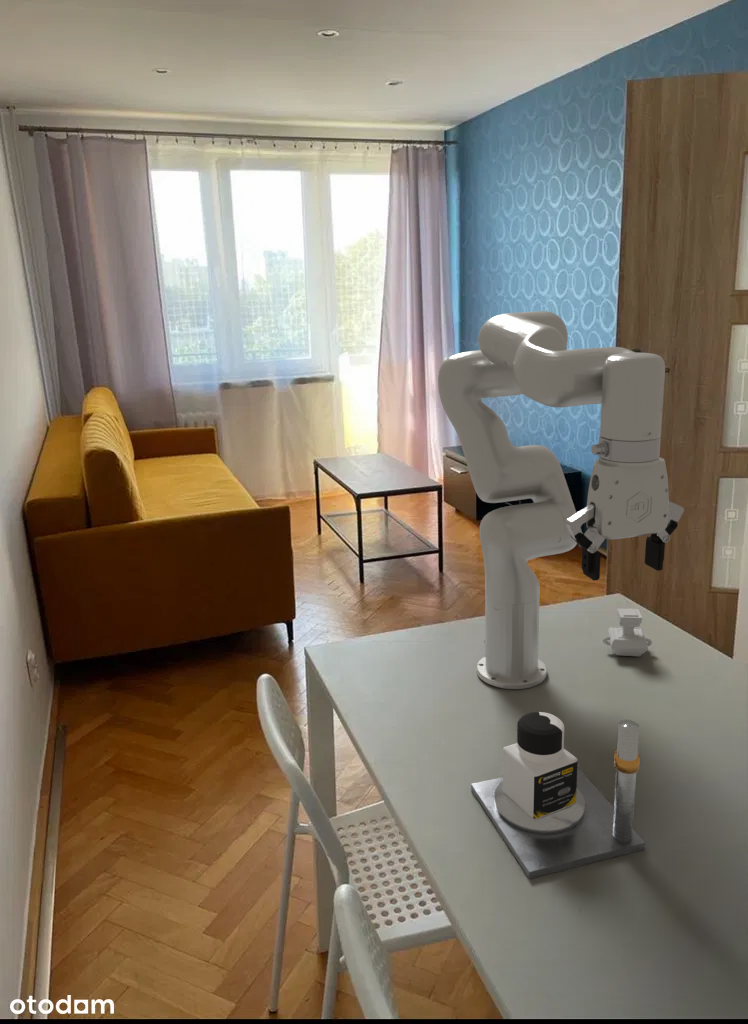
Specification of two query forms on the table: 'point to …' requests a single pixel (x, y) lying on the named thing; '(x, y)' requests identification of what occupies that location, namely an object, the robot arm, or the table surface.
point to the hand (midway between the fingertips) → (622, 572)
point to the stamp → (628, 634)
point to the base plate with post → (571, 818)
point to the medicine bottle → (540, 767)
